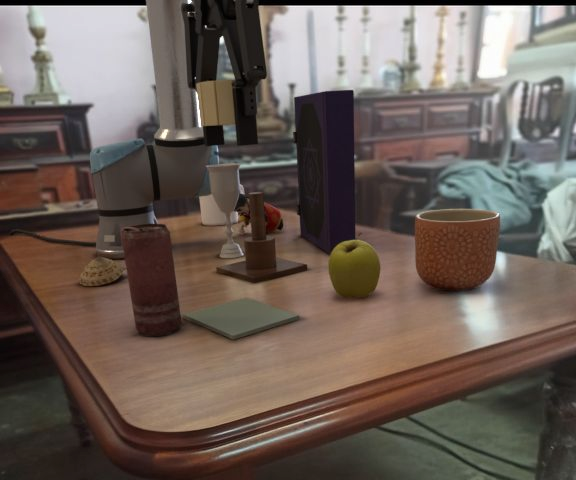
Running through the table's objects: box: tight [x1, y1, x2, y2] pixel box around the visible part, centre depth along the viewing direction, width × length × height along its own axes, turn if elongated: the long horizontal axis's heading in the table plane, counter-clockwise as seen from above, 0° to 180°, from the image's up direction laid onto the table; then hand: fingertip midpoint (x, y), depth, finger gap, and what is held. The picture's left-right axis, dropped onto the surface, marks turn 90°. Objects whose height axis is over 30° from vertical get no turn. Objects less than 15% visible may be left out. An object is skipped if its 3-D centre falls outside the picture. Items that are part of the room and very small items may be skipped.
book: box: [292, 89, 357, 256], centre depth 123 cm, size 24×6×30 cm, turn 14°
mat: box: [182, 297, 300, 341], centre depth 83 cm, size 13×11×1 cm
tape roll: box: [196, 79, 258, 127], centre depth 74 cm, size 7×7×5 cm
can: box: [121, 223, 182, 337], centre depth 78 cm, size 6×6×14 cm
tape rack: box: [215, 191, 308, 284], centre depth 105 cm, size 12×12×14 cm
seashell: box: [78, 256, 127, 287], centre depth 108 cm, size 8×6×8 cm
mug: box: [198, 183, 245, 227], centre depth 161 cm, size 13×10×10 cm
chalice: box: [206, 162, 245, 259], centre depth 119 cm, size 7×7×18 cm
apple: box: [327, 232, 381, 299], centre depth 88 cm, size 8×8×10 cm
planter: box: [414, 208, 501, 292], centre depth 90 cm, size 12×12×11 cm
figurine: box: [234, 193, 284, 236], centre depth 140 cm, size 10×10×15 cm
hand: (230, 144), depth 76 cm, fingers closed on tape roll, 7 cm apart
